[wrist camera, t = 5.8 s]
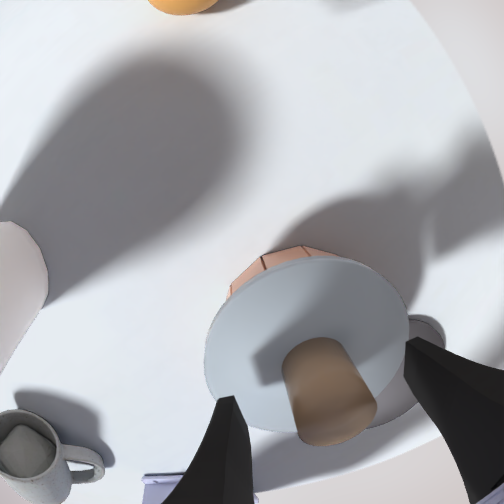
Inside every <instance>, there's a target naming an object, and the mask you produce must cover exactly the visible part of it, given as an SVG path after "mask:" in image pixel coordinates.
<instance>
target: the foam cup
mask: <svg viewBox="0 0 504 504" xmlns="http://www.w3.org/2000/svg"><path fill="white" fill-rule="evenodd" d="M48 293H49V291H48V270H47V267H46V265H45V262H44V259H43V256H42V253H41V250H40V248H39V247H38V245H37V244H36V242H35V241H34V240H33V238H32V237H31V236H30V234H29V233H28V231H27V230H25V229H24V228H22V227H20V226H18V225H17V224H15V223H13V222H12V221H7V222H0V375H1V373H2V372H3V370H4V368H5V366H6V365H7V363H8V361H9V359H10V358H11V356H12V354H13V353H14V351H15V349H16V348H17V346H18V344H19V343H20V341H21V340H22V338H23V337H24V335H25V333H26V332H27V330H28V329H29V327H30V326H31V324H32V323H33V321H34V320H35V318H36V317H37V315H38V314H39V311H40V310H41V309H42V307H43V305H44V302H45V300H46V298H47V295H48Z"/></svg>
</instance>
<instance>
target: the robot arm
mask: <svg viewBox="0 0 504 504" xmlns="http://www.w3.org/2000/svg"><path fill="white" fill-rule="evenodd" d="M403 377H404V378H405V380H406V382H407V384H408V386H409V388H410V390H411V391H412V393H413V395H414V396H415V398H416V399H417V400H418V402H419V403H420V404H421V406H422V407H423V409H424V410H425V411H426V413H427V414H428V415H429V417H430V418H431V419H432V421H433V422H434V423H435V425H436V426H437V428H438V429H439V431H440V432H441V434H442V436H443V437H444V439H445V441H446V443H447V445H448V447H449V449H450V451H451V453H452V455H453V457H454V459H455V462H456V464H457V466H458V469H459V471H460V474H461V476H462V479H463V481H464V485H465V488H466V491H467V494H468V498H469V502H470V504H504V370H500V369H496V368H492V367H488V366H485V365H482V364H479V363H476V362H473V361H471V360H468V359H466V358H463V357H461V356H458V355H456V354H454V353H452V352H449V351H447V350H445V349H443V348H441V347H439V346H437V345H435V344H433V343H431V342H429V341H426V340H424V339H422V338H420V337H418V336H417V337H415V338H413V339H410V340H408V341H406V343H405V361H404V374H403ZM142 482H143V483H144V484H145V488H144V495H143V501H142V504H257V503H258V502H259V499H258V498H257V496H256V495H255V494H254V492H253V479H252V456H251V444H250V438H249V432H248V426H247V424H246V421H245V419H244V417H243V415H242V412H241V410H240V408H239V406H238V403H237V401H236V399H235V396H234V395H232V396H227V397H222V398H219V399H218V400H217V403H216V406H215V409H214V412H213V415H212V418H211V421H210V423H209V426H208V428H207V431H206V433H205V435H204V438H203V440H202V442H201V445H200V447H199V448H198V450H197V452H196V454H195V456H194V458H193V460H192V462H191V464H190V465H189V467H188V469H187V470H186V472H185V473H184V475H175V476H143V477H142Z"/></svg>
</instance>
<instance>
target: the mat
mask: <svg viewBox="0 0 504 504" xmlns="http://www.w3.org/2000/svg"><path fill="white" fill-rule="evenodd" d="M417 336H418V337H420V338H422V339H424V340H426V341H429V342H431V343H433V344H435V345H437V346H439V347H441V348H443V349H444V343H443V340H442V338H441V336H440V335H439V333H438V332H437V331H436V330H435V329H434V328H433V327H431V326H430V325H429V324H427V323H425V322H423V321H419V320H409V339H408V340H410V339H413V338H415V337H417ZM404 361H405V355H404V358H403V360H402V362H401V364H400V366H399V369H398V370H397V372H396V373H395V375H394V377H393V378H392V380H391V381H390V382H389V384H388V385H387V386H386V387H385V388H384V390H383V391H382V392H381V393H380V394H379V395H378V396H377V397H376V398H375V400H376V402H377V412H376V415H375V417H374V419H373V420H372V422H371V423H370V424H369V425H368V426H367V427H366V428H365V429H368V428H373V427H376V426H380V425H382V424H385V423H387V422H389V421H392V420H394V419H395V418H397V417H399V416H401V415H402V414H404V413H405V412H407V411H408V410H409V409H411V408H412V407H413V406H414V405H415V404H416V403H418V400H417V399H416V398H415V396H414V395H413V393H412V391H411V390H410V388H409V386H408V384H407V382H406V380H405V378H404V377H403V374H404Z"/></svg>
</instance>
